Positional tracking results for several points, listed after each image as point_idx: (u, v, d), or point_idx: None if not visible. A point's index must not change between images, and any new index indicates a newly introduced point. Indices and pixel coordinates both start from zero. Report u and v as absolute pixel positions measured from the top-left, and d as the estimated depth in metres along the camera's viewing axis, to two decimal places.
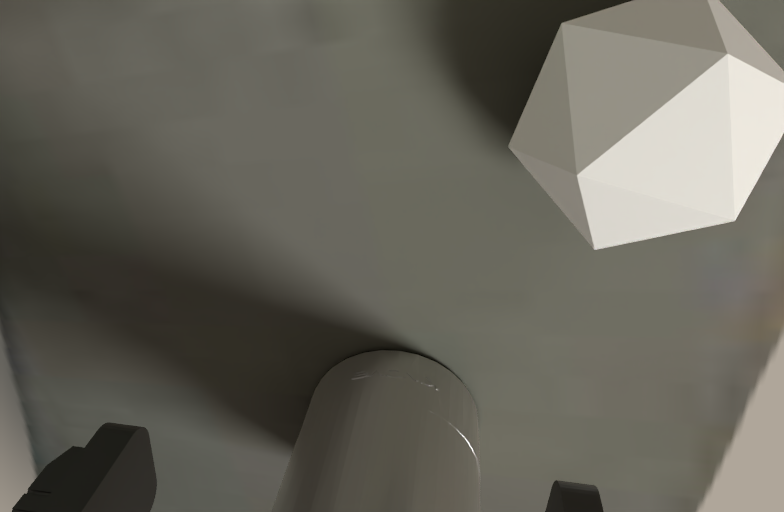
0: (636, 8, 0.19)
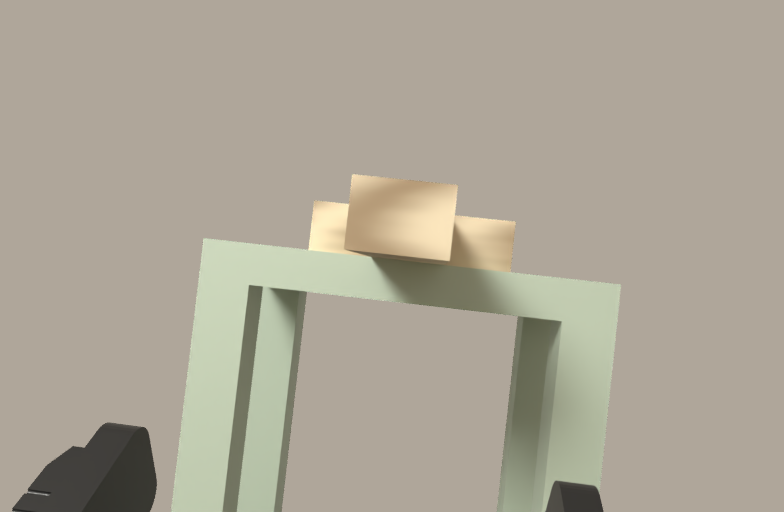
0: None
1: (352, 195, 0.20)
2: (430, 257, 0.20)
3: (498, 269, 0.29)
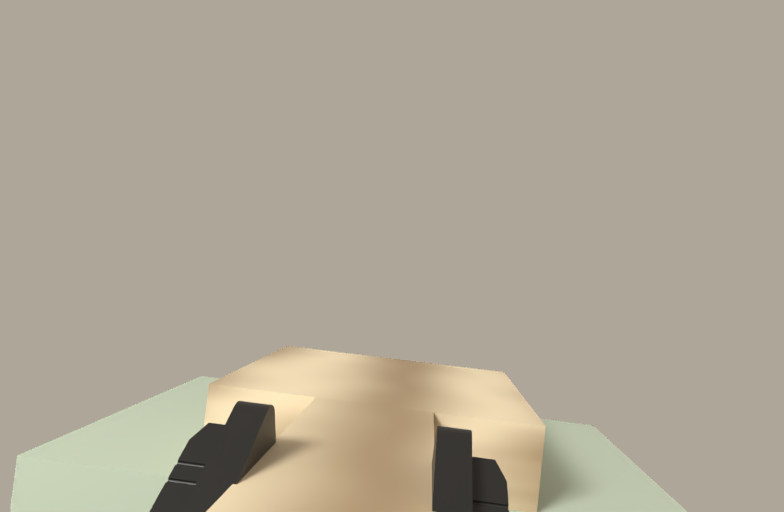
0: None
1: None
2: None
3: (516, 507, 0.17)
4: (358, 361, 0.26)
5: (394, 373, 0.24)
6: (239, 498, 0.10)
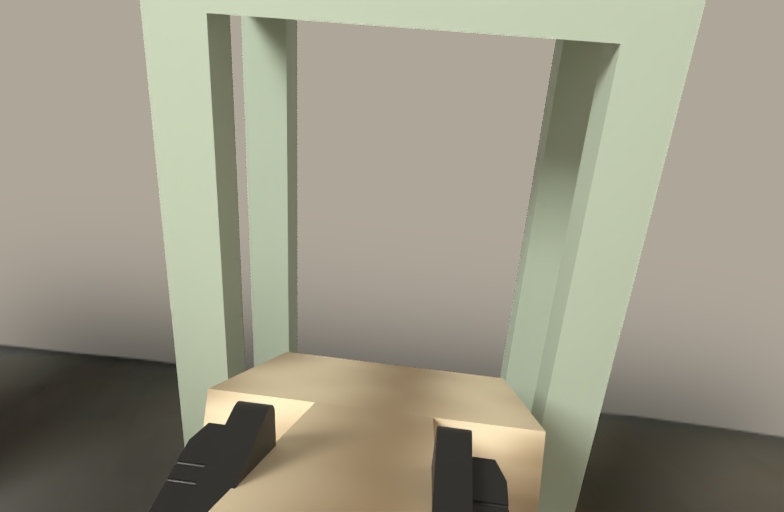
0: None
1: None
2: None
3: None
4: (358, 367, 0.26)
5: (394, 379, 0.24)
6: (238, 501, 0.10)
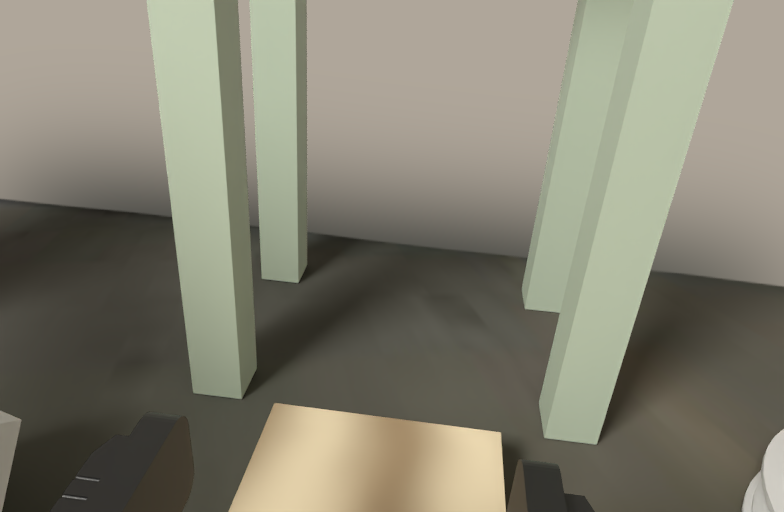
0: None
1: None
2: None
3: None
4: (345, 448, 0.25)
5: (379, 492, 0.23)
6: None
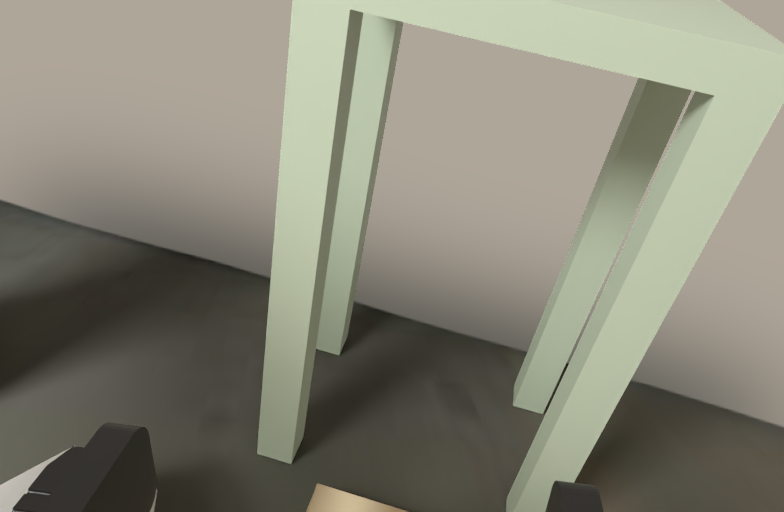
0: None
1: None
2: None
3: None
4: None
5: None
6: None
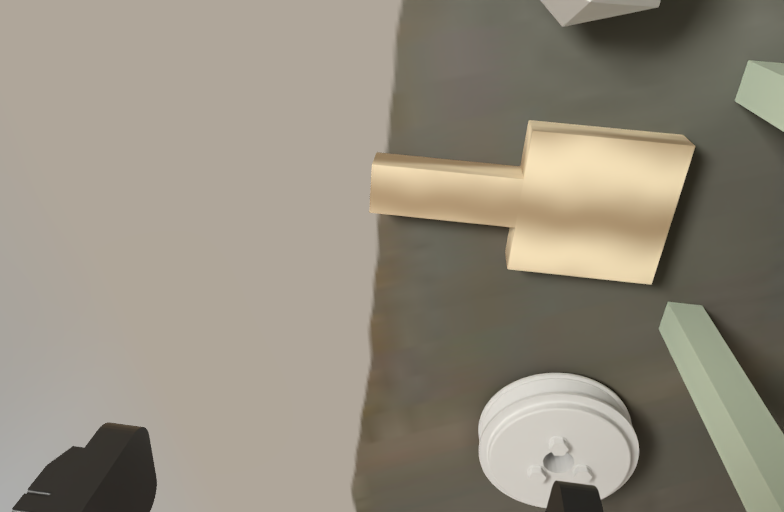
0: (610, 14, 0.33)
1: (373, 162, 0.41)
2: None
3: (506, 246, 0.45)
4: (646, 196, 0.39)
5: (608, 216, 0.40)
6: (400, 171, 0.40)
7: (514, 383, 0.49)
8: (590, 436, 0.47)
